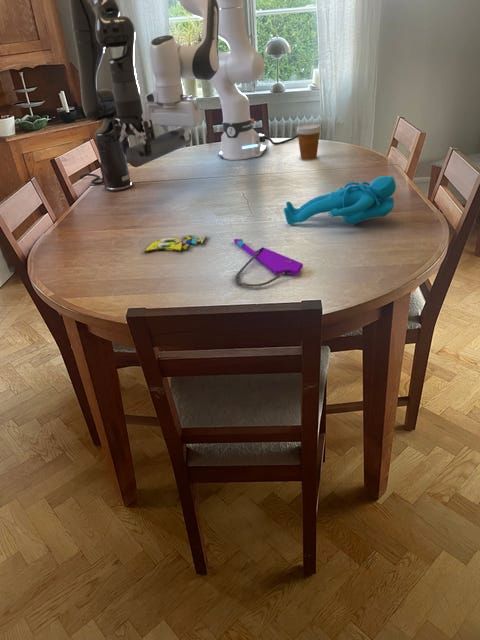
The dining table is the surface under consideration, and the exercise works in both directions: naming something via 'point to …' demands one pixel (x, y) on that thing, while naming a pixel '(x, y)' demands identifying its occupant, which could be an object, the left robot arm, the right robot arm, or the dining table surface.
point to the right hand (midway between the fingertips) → (177, 139)
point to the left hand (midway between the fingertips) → (137, 155)
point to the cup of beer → (308, 140)
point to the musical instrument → (269, 262)
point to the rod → (157, 147)
